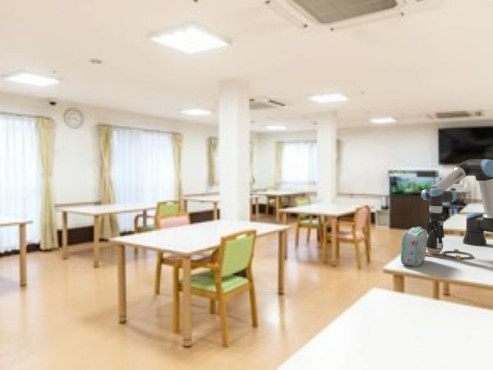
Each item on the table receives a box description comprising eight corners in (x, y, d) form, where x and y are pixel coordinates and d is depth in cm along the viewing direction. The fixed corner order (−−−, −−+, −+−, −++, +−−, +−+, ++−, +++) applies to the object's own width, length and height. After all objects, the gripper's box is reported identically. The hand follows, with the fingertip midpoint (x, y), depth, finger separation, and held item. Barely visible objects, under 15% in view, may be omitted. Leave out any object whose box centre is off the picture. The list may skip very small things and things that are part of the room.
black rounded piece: (446, 253, 253) (447, 230, 252) (435, 255, 248) (436, 231, 247) (433, 250, 262) (433, 227, 261) (422, 251, 257) (422, 228, 256)
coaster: (424, 252, 262) (424, 251, 262) (443, 254, 258) (443, 253, 258) (424, 256, 252) (424, 255, 252) (443, 258, 248) (443, 257, 248)
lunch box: (409, 257, 250) (410, 223, 248) (427, 259, 244) (428, 225, 242) (398, 266, 228) (399, 229, 227) (417, 269, 222) (418, 231, 221)
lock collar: (441, 250, 267) (441, 247, 267) (471, 253, 260) (471, 250, 260) (442, 258, 248) (442, 254, 247) (474, 261, 240) (474, 257, 240)
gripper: (420, 210, 264) (419, 242, 265) (440, 214, 242) (438, 250, 243) (431, 209, 265) (430, 242, 266) (451, 214, 242) (450, 250, 244)
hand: (434, 246), depth 255 cm, fingers closed on black rounded piece, 10 cm apart
